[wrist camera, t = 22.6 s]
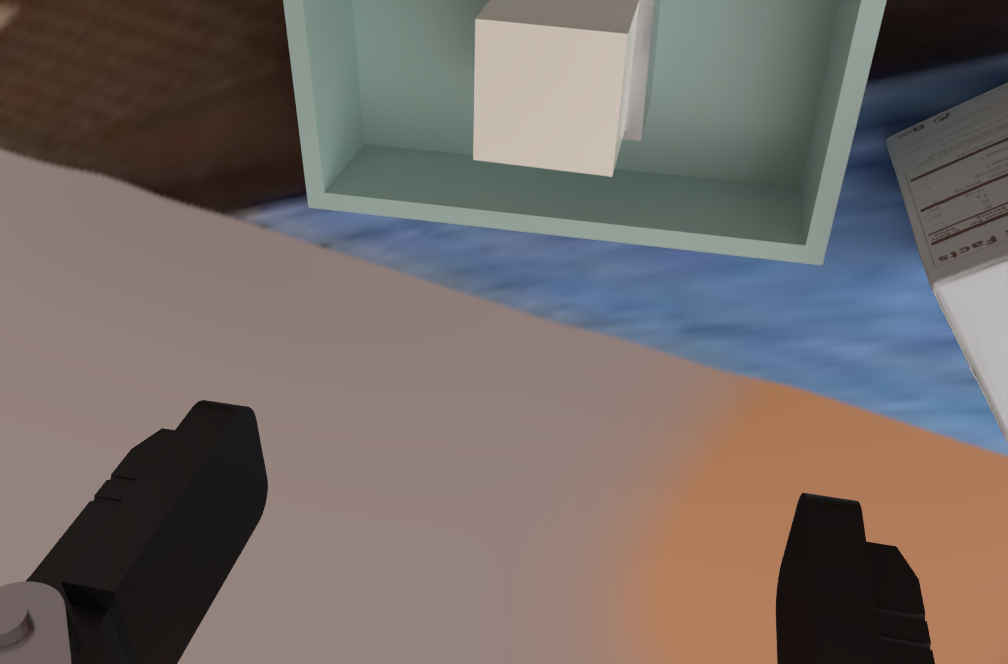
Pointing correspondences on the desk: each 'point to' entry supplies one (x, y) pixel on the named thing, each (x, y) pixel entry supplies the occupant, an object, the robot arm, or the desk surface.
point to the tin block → (642, 69)
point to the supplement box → (964, 227)
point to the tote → (640, 164)
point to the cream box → (553, 82)
